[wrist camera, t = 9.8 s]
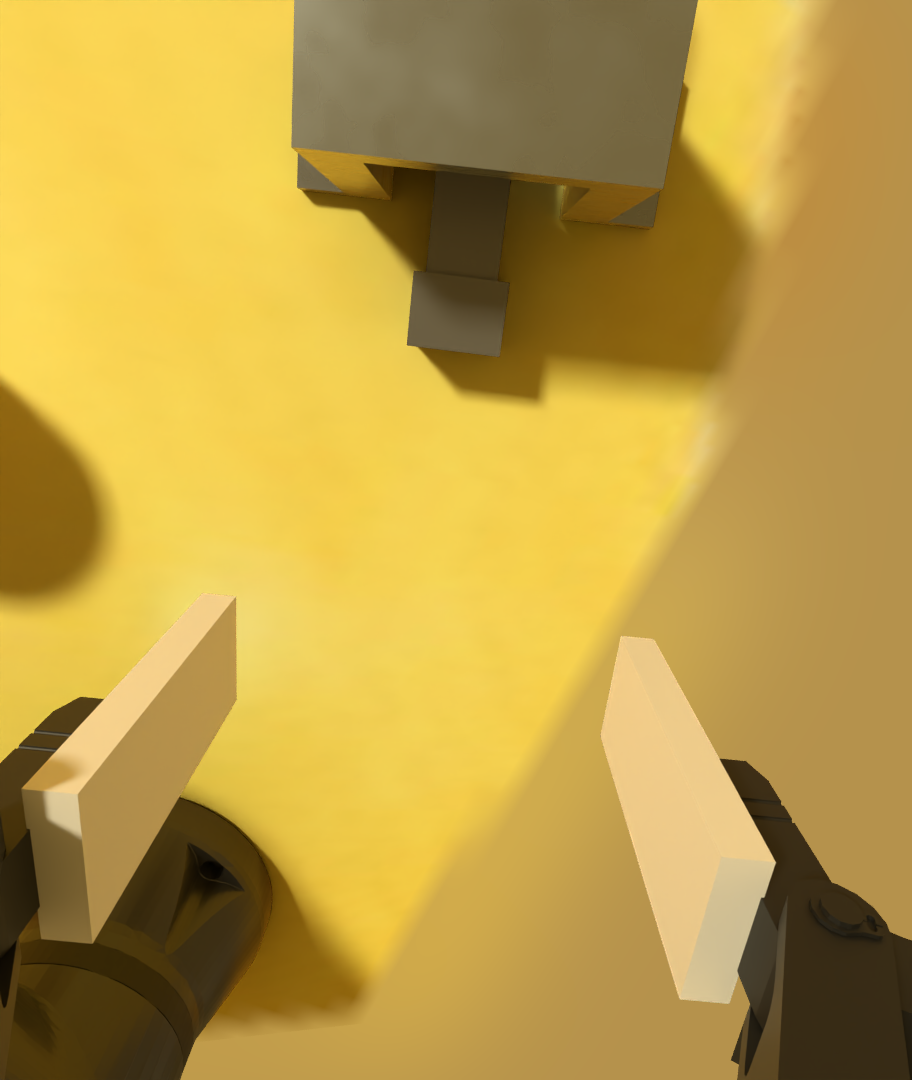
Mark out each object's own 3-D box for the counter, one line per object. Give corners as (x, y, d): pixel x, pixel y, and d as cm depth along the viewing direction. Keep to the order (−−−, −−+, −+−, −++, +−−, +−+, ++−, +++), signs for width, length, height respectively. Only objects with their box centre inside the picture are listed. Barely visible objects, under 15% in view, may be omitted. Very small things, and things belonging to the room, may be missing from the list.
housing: (301, 190, 30) (226, 139, 21) (305, 29, 28) (224, -107, 19) (648, 229, 30) (727, 196, 21) (676, 72, 28) (777, -41, 19)
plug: (402, 340, 32) (384, 349, 25) (446, -144, 26) (437, -295, 19) (507, 353, 32) (516, 366, 26) (574, -125, 26) (609, -271, 20)
